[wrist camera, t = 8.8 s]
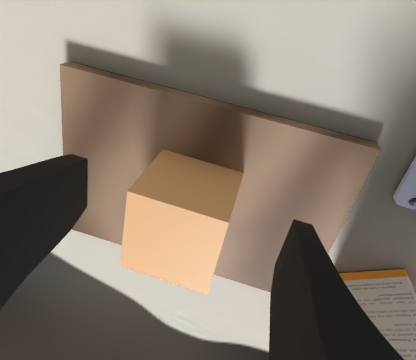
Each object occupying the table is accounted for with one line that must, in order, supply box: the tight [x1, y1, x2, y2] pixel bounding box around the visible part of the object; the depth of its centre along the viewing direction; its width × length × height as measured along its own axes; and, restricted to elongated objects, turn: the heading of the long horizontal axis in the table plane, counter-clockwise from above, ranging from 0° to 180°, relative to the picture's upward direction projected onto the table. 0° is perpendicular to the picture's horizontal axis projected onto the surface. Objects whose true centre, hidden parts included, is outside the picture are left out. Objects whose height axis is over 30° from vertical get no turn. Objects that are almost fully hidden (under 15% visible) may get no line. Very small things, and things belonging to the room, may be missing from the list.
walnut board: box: [60, 62, 381, 292], centre depth 22 cm, size 18×12×1 cm, turn 80°
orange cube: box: [120, 149, 244, 295], centre depth 19 cm, size 5×5×5 cm
